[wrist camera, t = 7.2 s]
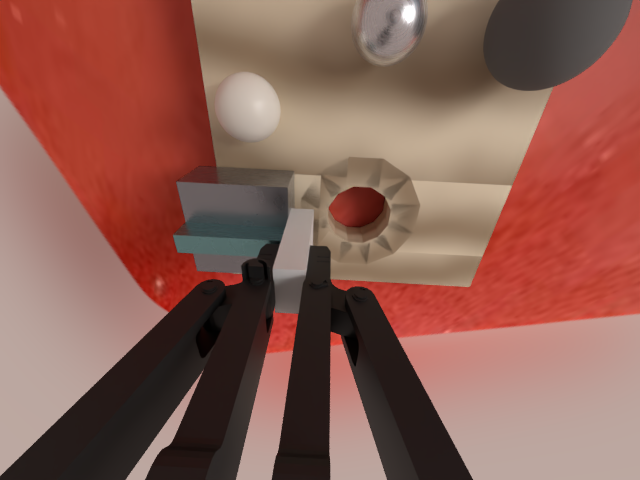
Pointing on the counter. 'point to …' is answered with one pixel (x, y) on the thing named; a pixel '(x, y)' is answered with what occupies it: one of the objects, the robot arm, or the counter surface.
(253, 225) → the cover
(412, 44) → the steel ball
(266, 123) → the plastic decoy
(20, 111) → the counter surface
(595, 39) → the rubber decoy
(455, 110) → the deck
